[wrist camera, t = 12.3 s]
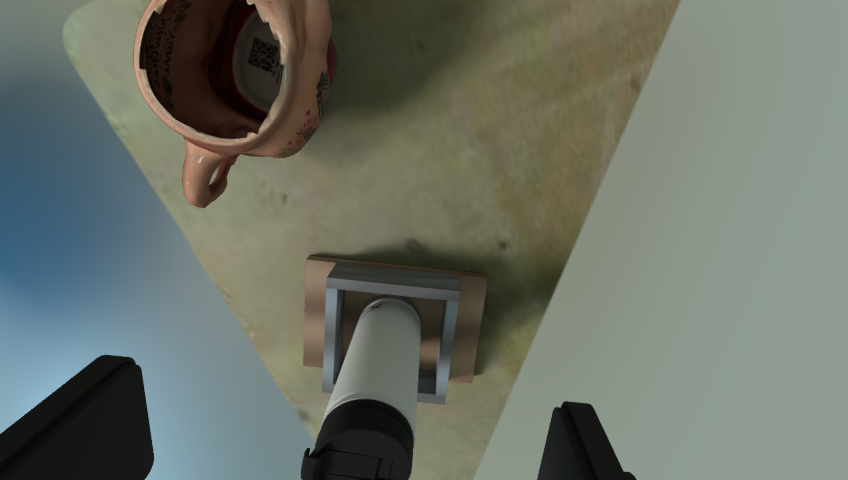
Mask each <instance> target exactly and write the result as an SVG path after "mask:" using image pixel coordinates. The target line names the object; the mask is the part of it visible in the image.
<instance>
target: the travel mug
mask: <svg viewBox="0 0 848 480" xmlns="http://www.w3.org/2000/svg"><path fill="white" fill-rule="evenodd" d="M420 340H421V316H420V313H419V311H418V309H417V308H416V306H415V305H414V304H413V303H412V302H411V301H409V300H408V299H406V298H404V297H402V296H399V295H389V294H385V295H381V296H378V297H375V298H373V299H372V300H371V301H369V302H368V303H367V304H366V305H365V307H364V308H363V310H362V312H361V315H360V318H359V321H358V324H357V326H356V329H355V332H354V335H353V337H352V340H351V343H350V346H349V349H348V351H347V354H346V357H345V360H344V363H343V365H342V368H341V371H340V374H339V376H338V379H337V382H336V385H335V388H334V390H333V393H332V396H331V399H330V402H329V404H328V407H327V410H326V413H325V416H324V418H323V421H322V424H321V427H320V433H319V435H318V438H317V441H316V444H315V449H314V450H313V452H312V453H311V454H310V456H309V452H310V448H307V449H306V451H305V453H304V457H303V462H302V468H301V479H302V480H408V479H409V477H410V474H411V469H412V459H413V448H414V441H415V424H416V408H417V391H418V374H419V357H420Z"/></svg>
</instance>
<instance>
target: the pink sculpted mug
mask: <svg viewBox="0 0 848 480" xmlns="http://www.w3.org/2000/svg"><path fill="white" fill-rule="evenodd" d="M331 32H332V19H331V13H330V8H329V2H328V0H151V1H150V3H149V4H148V6H147V8H146V9H145V11H144V13H143V15H142V17H141V19H140V21H139V24H138V28H137V32H136V37H135V43H134V51H133V64H134V72H135V76H136V80H137V83H138V86H139V89H140V92H141V94H142V96H143V98H144V100H145V101H146V103H147V104H148V106H149V107H150V108H151V110H152V111H153V112H154V113H155V114H156V115H157V116H158V117H159V118H160V119H161V120H162V121H163V122H164V123H165V124H166V125H168V126H169V127H170V128H171V129H173V130H174V131H176V132H177V133H179V134H180V135H182V136H183V137H184V139H185V141H186V156H185V160H184V164H183V175H182V184H183V192H184V196H185V198H186V199H187V201H188V202H189V203H190V204H192V205H194V206H196V207H201V208H205V207H206V206H208V205H209V204H210V203H211V202H212V201H214V200H216V199H217V198H218V197H219V196H220V195H221V194H222V193H223V192H224V190H225V188H226V186H227V175H228V172H229V170H230V167H231V166H232V165H234V163H235V161H236V159H237V157H238V156H239V155H240V154H243V155H247V156H258V157H265V156H268V157H274V158H286V157H289V156H291V155H294V154H295V153H297V152H298V151H300V150H301V149H302V147H303V146H304V145H305V144H306V143H307V142H308V140H309V139H310V138H311V136H312V135H313V134H314V132H315V131H316V130H317V128H318V127H319V125H320V123H321V120H322V117H323V114H324V111H325V107H326V104H327V100H328V96H329V91H330V88H331V85H332V81H333V76H334V72H335V69H336V66H337V53H336V49H335V47H334V44H333V41H332V39H331V37H330V36H331ZM218 166H219V167H218ZM217 167H218V172H217V176H216V178H215V179H214V181H213V182H212V183H211V184H210V185H209V183H210V180H211V177H212V175H213V173H214V172H215V170H216V169H217Z"/></svg>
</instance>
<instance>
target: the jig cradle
mask: <svg viewBox="0 0 848 480" xmlns="http://www.w3.org/2000/svg"><path fill="white" fill-rule="evenodd" d="M487 283H488V276H487V274H483V273H473V272H463V271H454V270H444V269H434V268H425V267H415V266H405V265H396V264H386V263H376V262H367V261H357V260H347V259H338V258H328V257H318V256H308V258H307V259H306V276H305V318H304V359H303V366H310V367H320V368H323V384H322V392H327V393H333V390H334V388H335V385H336V382H337V379H338V376H339V374H340V371H341V368H342V365H343V363H344V360H345V357H346V354H347V351H348V349H349V346H350V343H351V340H352V337H353V335H354V332H355V329H356V326H357V324H358V321H359V318H360V315H361V312H362V310H363V308H364V307H365V305H366V304H367V303H368V302H369V301H371V300H372V299H373V298H375V297H378V296H381V295H385V294H389V295H399V296H402V297H404V298H406V299H408V300H409V301H411V302H412V303H413V304H414V305H415V306H416V308H417V309H418V311H419V313H420V316H421V340H420V357H419V374H418V391H417V402H425V403H435V404H445V399H446V392H447V384H448V381H457V382H467V383H472V381H473V374H474V367H475V361H476V354H477V348H478V341H479V335H480V328H481V322H482V315H483V309H484V302H485V296H486V289H487Z"/></svg>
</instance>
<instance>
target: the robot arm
mask: <svg viewBox="0 0 848 480" xmlns="http://www.w3.org/2000/svg"><path fill="white" fill-rule="evenodd" d="M153 462H154V453H153V446H152V440H151V432H150V425H149V418H148V411H147V405H146V398H145V391H144V384H143V377H142V371H141V368H140V366H139V365H136V363H135V361H134V360H133V358H130V357H122V356H112V355H102V356H100V357H98V358H97V359H95V360H94V361H93V362H92V363H90V364H89V365H88V366H86V367H85V368H84V369H83V370H81V371H80V372H79V373H78V374H76V375H75V376H74V377H72V378H71V379H70V380H69V381H67V382H66V383H65V384H63V385H62V386H61V387H60V388H58V389H57V390H56V391H55V392H53V393H52V394H51V395H50V396H48V397H47V398H46V399H44V400H43V401H42V402H41V403H40V404H38V405H37V406H35V407H34V408H33V409H32V410H30V411H29V412H28V413H27V414H25V415H24V416H23V417H21V418H20V419H19V420H18V421H16V422H15V423H14V424H12V425H11V426H10V427H9V428H7V429H6V430H5V431H4V432H2V433H1V434H0V480H145V478H146V477H147V476H148V474H149V472H150V470H151V468H152V466H153ZM537 480H636V478H635V476H634V475H632V474H631V473H630V472H623V469H622V468H621V465H620V463H619V461H618V459H617V457H616V455H615V453H614V450H613V448H612V446H611V444H610V442H609V440H608V438H607V436H606V433H605V431H604V429H603V427H602V425H601V423H600V421H599V419H598V417H597V414H596V412H595V410H594V408H593V407H592V405H590V404H587V403H577V402H567V401H565V402H563V404H562V406H561V408H558V407H556V408H554V410H553V413H552V418H551V422H550V426H549V431H548V435H547V439H546V444H545V448H544V452H543V457H542V461H541V465H540V470H539V474H538V479H537Z"/></svg>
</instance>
